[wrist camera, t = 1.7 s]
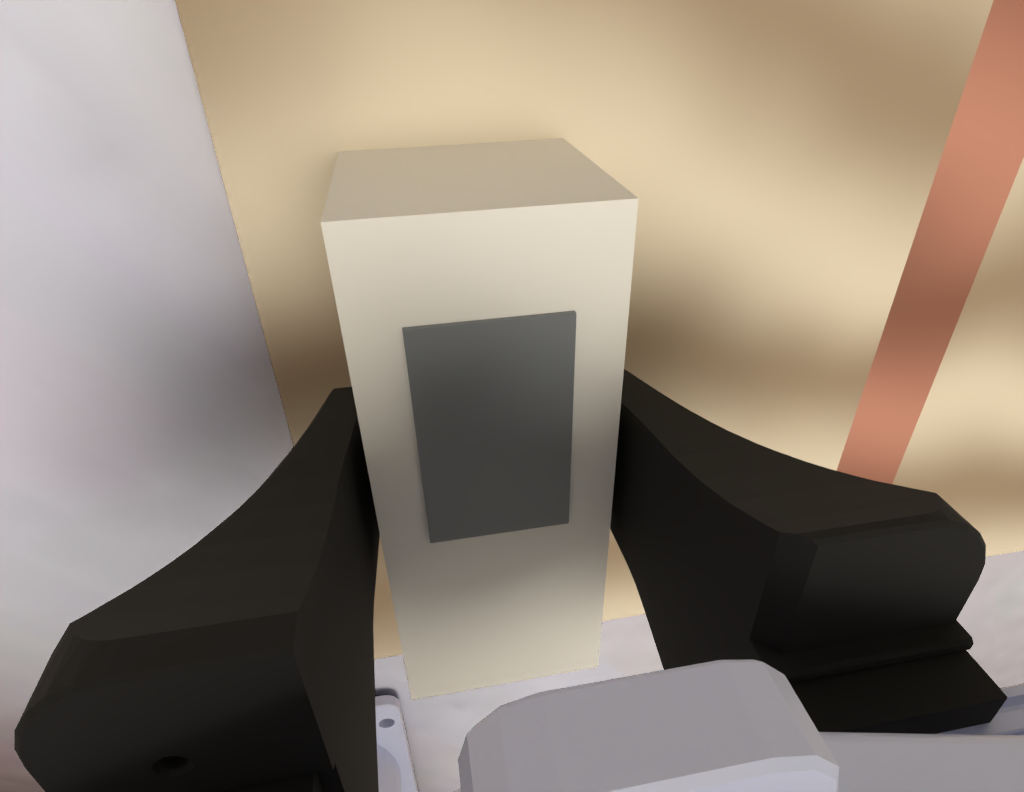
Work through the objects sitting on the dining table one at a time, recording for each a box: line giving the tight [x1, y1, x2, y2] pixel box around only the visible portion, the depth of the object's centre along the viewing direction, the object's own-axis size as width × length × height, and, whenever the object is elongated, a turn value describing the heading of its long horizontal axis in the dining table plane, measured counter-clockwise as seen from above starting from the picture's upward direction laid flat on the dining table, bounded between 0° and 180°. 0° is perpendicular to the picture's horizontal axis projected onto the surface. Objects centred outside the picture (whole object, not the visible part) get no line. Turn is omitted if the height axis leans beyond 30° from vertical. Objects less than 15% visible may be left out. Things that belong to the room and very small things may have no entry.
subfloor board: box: [175, 0, 1024, 659], centre depth 15 cm, size 18×23×1 cm
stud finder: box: [321, 138, 639, 700], centre depth 12 cm, size 10×4×4 cm, turn 1°
